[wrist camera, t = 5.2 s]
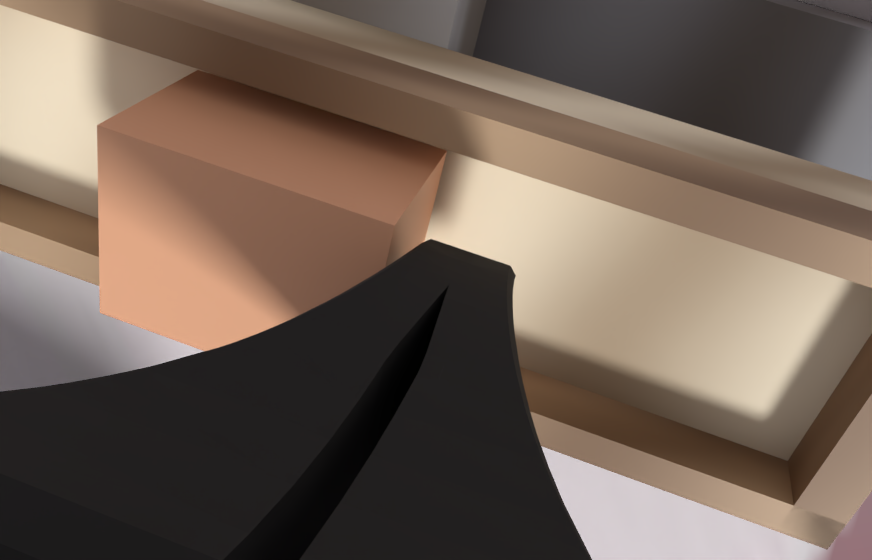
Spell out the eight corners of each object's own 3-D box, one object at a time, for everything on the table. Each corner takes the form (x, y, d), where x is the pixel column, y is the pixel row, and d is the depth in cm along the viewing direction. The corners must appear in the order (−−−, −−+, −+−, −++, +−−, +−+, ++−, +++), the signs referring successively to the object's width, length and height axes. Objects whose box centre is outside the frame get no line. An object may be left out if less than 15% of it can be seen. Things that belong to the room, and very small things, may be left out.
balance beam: (998, 58, 14) (1157, 195, 9) (783, 405, 18) (813, 617, 13) (-51, -245, 16) (-364, -263, 11) (-14, 130, 20) (-227, 231, 15)
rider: (446, 150, 12) (394, 225, 10) (407, 312, 14) (354, 405, 11) (197, 69, 12) (97, 124, 10) (188, 236, 14) (99, 312, 12)
